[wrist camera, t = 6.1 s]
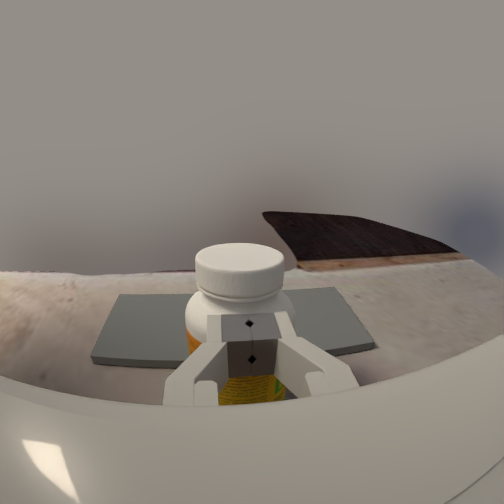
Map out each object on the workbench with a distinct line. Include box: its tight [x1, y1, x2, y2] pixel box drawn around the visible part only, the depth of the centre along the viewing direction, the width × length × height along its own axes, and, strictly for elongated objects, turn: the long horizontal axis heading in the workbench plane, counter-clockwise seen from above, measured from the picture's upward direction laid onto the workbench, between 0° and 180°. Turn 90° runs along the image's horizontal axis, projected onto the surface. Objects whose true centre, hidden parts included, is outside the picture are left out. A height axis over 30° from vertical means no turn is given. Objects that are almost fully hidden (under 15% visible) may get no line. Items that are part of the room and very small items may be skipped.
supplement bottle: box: [185, 243, 295, 406], centre depth 14 cm, size 5×5×10 cm
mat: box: [91, 287, 374, 368], centre depth 23 cm, size 22×9×1 cm, turn 97°
